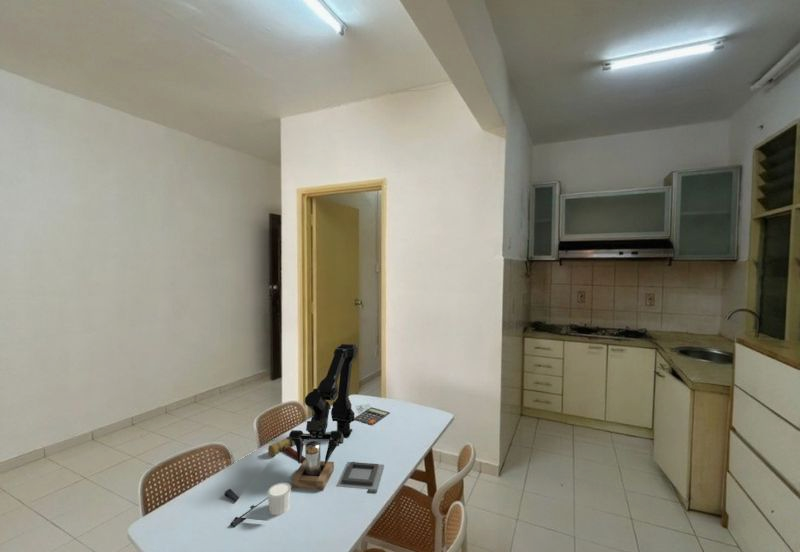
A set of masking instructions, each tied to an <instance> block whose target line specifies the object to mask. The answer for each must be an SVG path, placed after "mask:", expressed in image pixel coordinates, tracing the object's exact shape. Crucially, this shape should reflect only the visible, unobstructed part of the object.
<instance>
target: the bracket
mask: <svg viewBox="0 0 800 552" xmlns="http://www.w3.org/2000/svg"><path fill="white" fill-rule="evenodd" d="M224 496H225V497H226V498H227V499H229V500H231V501H232V502H234V503H237V501H238V500H239V499H240V496H238V495H237V494H236V493H235V492H234V491H233V490H232V489H231V488H229V489H227V490H226V491H224ZM266 500H268V497H266V498H265V499H264V500H262V501H260V502H259V503H258V504H256V505H254V504H253V505H251V506H249V508H250V509H249V510H247V511H246V512H245V513H243V514H241V515H240V516H235V517H234V518H233V519H232V521H231V522H230V526H233V528H235V527H236V526H238V525H240V524H241V523H242V522H244V521H246V520H247V518H246V517H244V516H246V515H247V514H248V513H250V512H252V510H253V509H255V508H257V507H258V506H260V505H261V504H262V503H263V502H265V501H266Z"/></svg>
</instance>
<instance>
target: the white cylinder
mask: <svg viewBox="0 0 800 552" xmlns="http://www.w3.org/2000/svg"><path fill="white" fill-rule="evenodd" d="M291 491H292V485H291V484H290V483H288V482H278V483H276V484H273V485H271V486H270V487H269V488H268V489H267V501H268V502H267V503H268V509H269V512H270V514H271V515H273V516H282V515H283V514H285V513H287V512H288V510H290V505H291V504H290V503H291Z"/></svg>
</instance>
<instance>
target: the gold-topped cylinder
mask: <svg viewBox="0 0 800 552" xmlns="http://www.w3.org/2000/svg"><path fill="white" fill-rule="evenodd" d="M304 445H305V446H304V447H305V449H304V450H305V458H306V476H317V477H319V476H320V474H321V461H322V460H321V457H322V456H321V443H320V442H319V440H311V441H309V442H307V443H305V444H304Z"/></svg>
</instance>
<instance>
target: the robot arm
mask: <svg viewBox="0 0 800 552" xmlns="http://www.w3.org/2000/svg"><path fill="white" fill-rule="evenodd" d="M358 352H359V348H358V346H357V345H356V344H355V343H354V344H353V343H351V344H350V343H341V344H340V345H338V346H336V347H335V350H334V351H333V357H332V360H331V362H330V365H329V368H328V371H327V373H326V375H325V377H324V378H323V379H322V380H321V381H320V383H319V384H318V387H317V388H313V389H312V391H311V392H308V393H307V395H306V396H305V398H304V403H305V405H306V406H307V407H308V408H309V410H310V411H311V412H312V417H310V418H311V419H310V420H307V421H306V428H305V431H306V432H307V433H304V432H303V431H302V430H300V429H299V430H297V429H296V430H295V429H294V430H293V429H292V430H291V431H290V432H289V436H288V437H289V439H290V440H291V441H292V442H293V443H294V444H295V445H294V446H295V448H296V451H297V457H298V460H297V464H301V462H300V461H301V457H302V456H303V451H304V445H305V444H304V443H303V442H304V440H305V441H306V440H309V441H310V440H311V441H319V440H320V441H328V443H327V450H326V454H325V459H324V461H325V464H327V462H329V460H330V458H331V456H332V454H333V452H334V451H335V450H336V448H337V447H339V446H340V445H342V444H344V440H345V438H350V436H351V434H352V432H353V429H352V428H351V423H352V422H355V420H354V418H355V412H354V410H353V409H352V403H351V400H350V398H349V397H350V387H351V378H352V369H353V368H352V367H353V363H354V362H355V360H357V356H358ZM338 380H339V382H338ZM329 401H333V402H332V407H331V404H330V402H329ZM330 411H331V412H330ZM329 415H331V420H332V422H336V430H331V431H330V433H327V428H328V425H329V423H328V422H329V421H328V420H329ZM326 433H327V434H326Z"/></svg>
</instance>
